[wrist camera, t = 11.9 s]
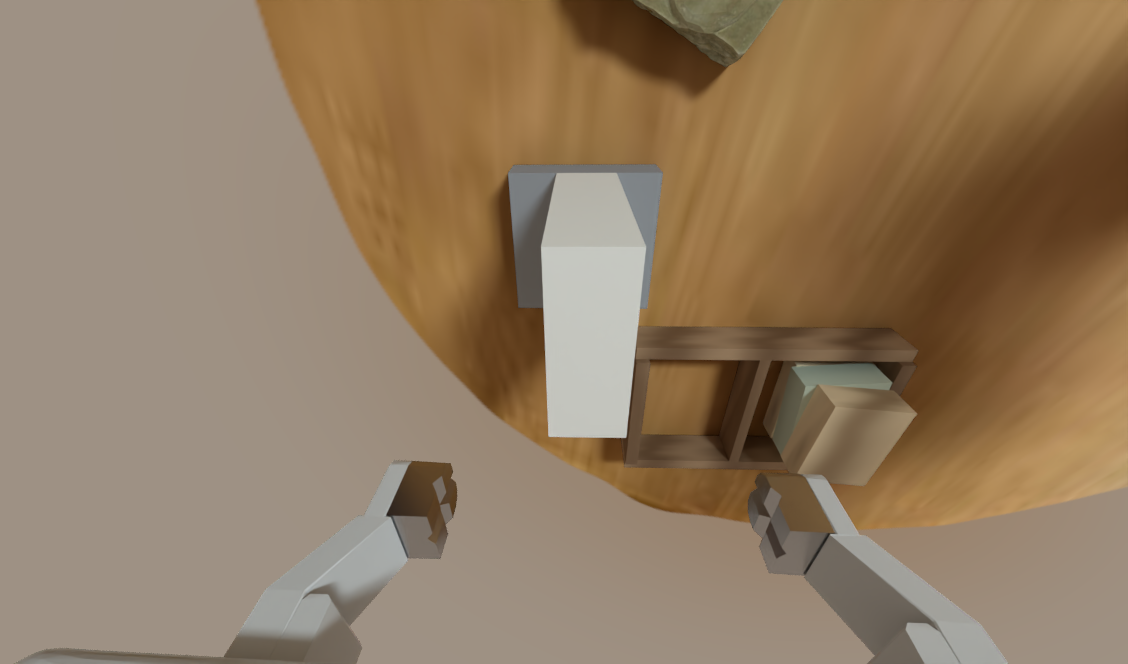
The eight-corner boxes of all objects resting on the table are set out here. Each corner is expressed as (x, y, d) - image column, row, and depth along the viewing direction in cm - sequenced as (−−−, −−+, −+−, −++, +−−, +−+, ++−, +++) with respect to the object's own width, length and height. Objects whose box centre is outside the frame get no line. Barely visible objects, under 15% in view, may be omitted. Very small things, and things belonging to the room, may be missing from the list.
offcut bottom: (857, 347, 33) (875, 365, 31) (825, 418, 38) (840, 438, 36) (783, 347, 34) (796, 364, 32) (760, 418, 38) (770, 437, 36)
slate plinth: (655, 164, 26) (662, 172, 24) (642, 292, 30) (647, 308, 28) (513, 165, 26) (508, 172, 24) (522, 291, 31) (518, 307, 29)
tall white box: (616, 172, 24) (646, 246, 14) (608, 308, 28) (626, 438, 18) (556, 173, 24) (541, 246, 14) (558, 308, 29) (548, 436, 18)
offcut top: (894, 390, 30) (917, 413, 28) (847, 461, 34) (864, 486, 32) (818, 384, 30) (835, 406, 28) (780, 455, 34) (793, 480, 32)
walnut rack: (891, 328, 32) (923, 354, 29) (833, 445, 39) (854, 475, 36) (632, 326, 32) (637, 351, 29) (621, 441, 39) (624, 471, 36)
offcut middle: (872, 362, 31) (892, 382, 29) (843, 436, 35) (859, 458, 33) (791, 366, 32) (805, 386, 30) (772, 439, 36) (784, 461, 34)
